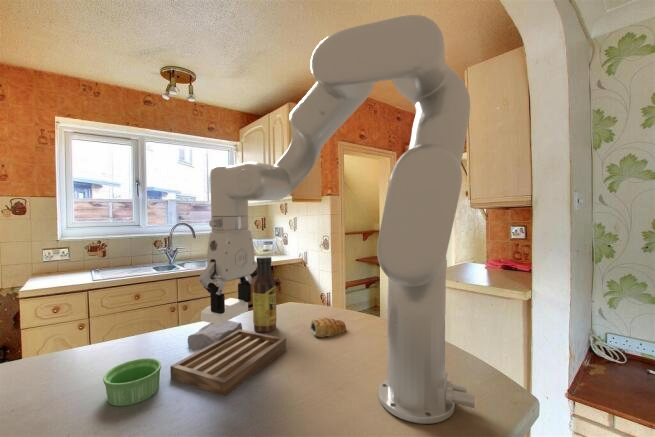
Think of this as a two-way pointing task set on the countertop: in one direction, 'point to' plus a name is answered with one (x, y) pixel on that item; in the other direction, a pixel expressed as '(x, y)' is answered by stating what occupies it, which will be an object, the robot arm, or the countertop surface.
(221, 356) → the drying rack
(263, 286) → the sauce bottle
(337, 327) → the pastry
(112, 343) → the countertop surface
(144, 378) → the ramekin
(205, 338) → the stone block
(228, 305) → the soap bar
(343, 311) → the countertop surface
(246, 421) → the countertop surface
